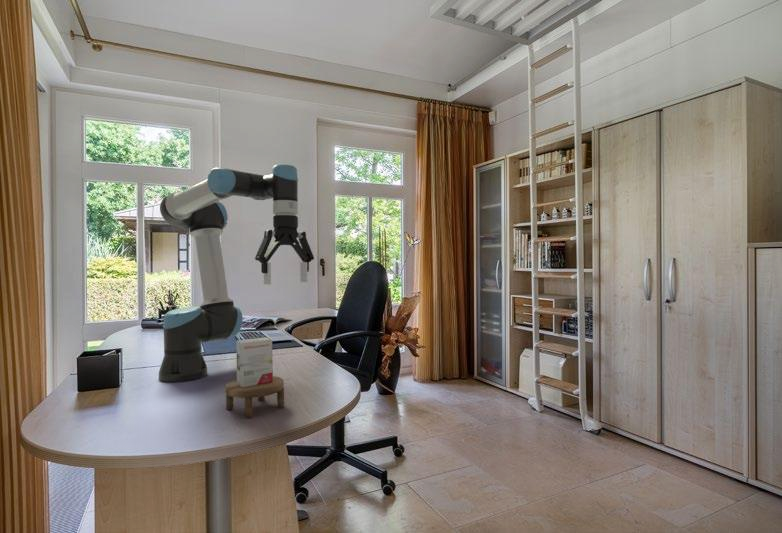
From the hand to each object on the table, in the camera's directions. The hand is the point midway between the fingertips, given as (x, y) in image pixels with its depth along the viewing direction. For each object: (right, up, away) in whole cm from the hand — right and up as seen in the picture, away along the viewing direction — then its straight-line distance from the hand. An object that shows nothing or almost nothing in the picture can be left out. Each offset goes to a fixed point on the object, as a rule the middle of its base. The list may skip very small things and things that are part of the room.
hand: (286, 283), depth 135 cm
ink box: (-4, -27, -18) cm, 33 cm away
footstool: (-4, -33, -18) cm, 38 cm away
